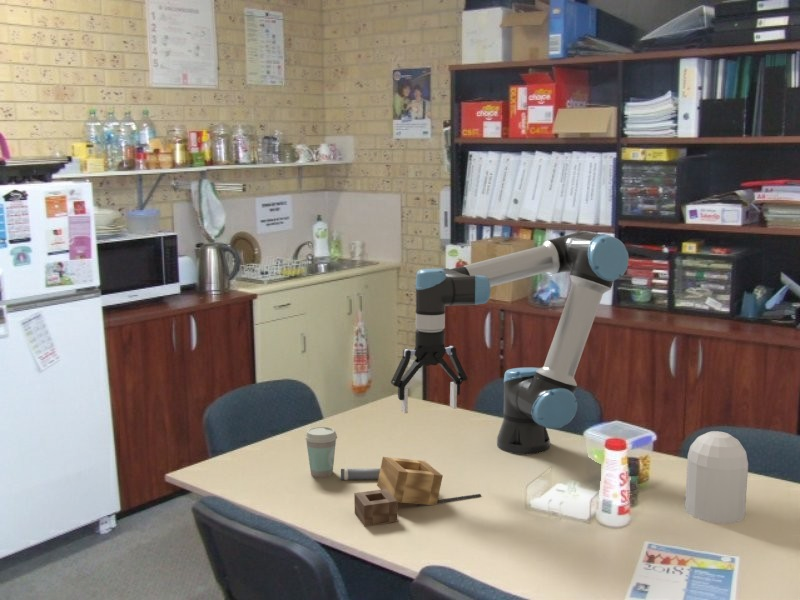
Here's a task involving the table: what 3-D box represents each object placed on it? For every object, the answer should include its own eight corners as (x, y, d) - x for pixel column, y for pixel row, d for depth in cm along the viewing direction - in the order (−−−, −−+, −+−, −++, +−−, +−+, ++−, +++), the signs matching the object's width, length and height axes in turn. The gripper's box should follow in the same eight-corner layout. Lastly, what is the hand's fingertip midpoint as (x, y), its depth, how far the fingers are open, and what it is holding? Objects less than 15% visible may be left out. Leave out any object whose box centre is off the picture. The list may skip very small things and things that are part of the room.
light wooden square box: (418, 489, 221) (424, 461, 220) (436, 505, 210) (442, 475, 210) (377, 485, 217) (382, 456, 216) (392, 501, 206) (399, 471, 205)
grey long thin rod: (480, 496, 215) (480, 493, 215) (481, 497, 214) (481, 494, 214) (417, 505, 210) (417, 502, 210) (418, 506, 209) (418, 503, 209)
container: (716, 530, 195) (721, 445, 192) (672, 509, 207) (676, 428, 204) (757, 518, 201) (763, 436, 198) (712, 498, 213) (717, 420, 210)
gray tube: (409, 468, 229) (341, 468, 228) (409, 468, 226) (340, 468, 225) (409, 479, 228) (341, 480, 228) (409, 479, 225) (340, 480, 225)
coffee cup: (332, 480, 226) (332, 436, 224) (301, 478, 228) (300, 434, 226) (341, 469, 234) (340, 426, 232) (311, 467, 236) (310, 425, 234)
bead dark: (386, 508, 208) (386, 488, 207) (397, 521, 200) (397, 501, 200) (354, 513, 205) (354, 493, 204) (364, 526, 198) (364, 505, 197)
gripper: (468, 324, 228) (467, 401, 232) (379, 329, 220) (378, 409, 224) (480, 329, 221) (479, 409, 225) (388, 335, 213) (388, 417, 217)
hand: (429, 409), depth 224 cm, fingers open, 13 cm apart
